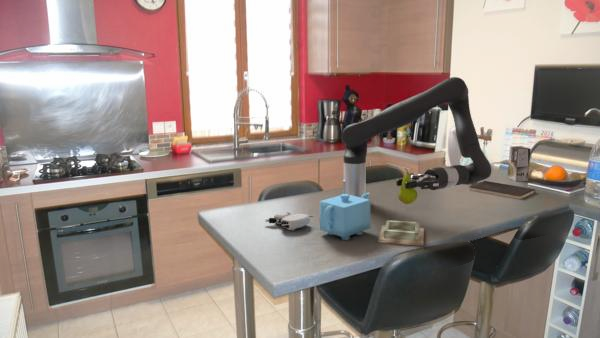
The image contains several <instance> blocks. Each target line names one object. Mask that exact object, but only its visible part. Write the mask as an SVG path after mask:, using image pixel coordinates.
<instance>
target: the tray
mask: <svg viewBox="0 0 600 338" xmlns="http://www.w3.org/2000/svg"><path fill="white" fill-rule="evenodd" d="M424 235H425V227H420V222H419V221H407V220H406V221H404V220H403V221H402V220H391V219H387V220H386V223H385V225H384V224H382V226H381V230H380V232H379V235H378V236H379V237H378V243H381V244H382V243H383V244H395V245H396V244H398V245H408V246H410V245H411V246H424V238H425V237H424Z"/></svg>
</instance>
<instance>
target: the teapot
mask: <svg viewBox="0 0 600 338" xmlns="http://www.w3.org/2000/svg"><path fill="white" fill-rule="evenodd" d="M370 194H371V192H369V191H368V192H365V193H364V194H363V195H362V197H356V196H352V195H348V194H343V193H341V194H340V195H337V196H333V197H330V198H326V199H323V200H319V230H321V231H323V232H326V234H327V235H328V234H329V235H328V236H334V235H335V236H337V237H340V238H341V240H342V241H349V240H351V238H350V236H353V235H357V236H362V235H364V231H366V230H369V229H371V199H368V198H367V197H368V196H369V195H370Z"/></svg>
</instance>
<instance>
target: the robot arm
mask: <svg viewBox="0 0 600 338" xmlns="http://www.w3.org/2000/svg"><path fill="white" fill-rule="evenodd" d="M444 104H447V106H448V107H449V110H450V112H451V114H452V118H453V121H454V125H455V126H454V128H455V129H456V136H457V141H458V145H459V148H460V152H461V155H462V156H461V157H463V158H465V159H468V158H469V159H470V160H471V161H472V163H469V164H466V165H462V164H460V165H454V166H449V165H446V166H443V165H442V166H438V167H429V168H427V169H426V171H425V172H424V173H418V174H415V173H413V172H412V173H409V175H410V178H411V181H409V182H405V188H406V189H410V188H414V189H420V190H428V189H429V190H431V191H439V190H442V189H447V188H451V187H455V186H461V185H471V184H472V185H474V184H477V183H480V182H483V181H485V180H486V179H488V178H490V177H491V175H492V166H491V164H490V161H489V160H488V158H487V156H486V155H485V153H484V151H483V149H482V148H481V144H480V141H479V137H478V134H477V130H476V127H475V125H474V122H473V119H472V113H471V108H470V100H469V87H468V86H467V84H466V81H464V80H463V79H462V78H460V77H457V76H453V77H448V78H446V79H444V80H442V81H441V82H438V83H437V84H436V85H433V87H430V88H428V89H427V90H425V91H423V92H420V93H418V94H415V95H413V96H411V97H409V98H407V99H404V100H401V101H399V102H397V103H395V104H392V105H391V106H389V107H387V108H385V109H384V110H382V111H380V112H378V113H377V114H375V115H374V116H371V117H370V118H368V119H365V120H363V121H360V122H353V123H351V124H348V125H347V126H346V127H344V128H343V130H342V133H341V137H340V138H341V141H342V143H343V144H344V145H345V151H344V155H343V180H342V194H348V195H352V196H356V197H362V195H363V194H364V193H366V185H367V184H366V180H367V179H366V177H367V176H366V174H367V173H366V172H367V170H366V166H367V165H366V164H367V162H366V161H367V160H366V159H367V154H368V141H369V140H370V139H372V138H375V137H376V136H378V135H382V134H385V133H388V132H391V131H394V130H397V129H399V128H402V127H405V126H407V125H409V124H411V123H413V122H416V121H417V120H418V119H420V118H421V117H423V116H424V115H425V114H426V113H428V111H430V110H432V109H434V108H436V107H438V106H441V105H444ZM404 176H405V175H402V178H398V179H396V181H395V183H396V184H395V185H396V186H397V187H401V185H402V181H403V178H404Z"/></svg>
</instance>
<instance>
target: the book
mask: <svg viewBox="0 0 600 338" xmlns="http://www.w3.org/2000/svg"><path fill="white" fill-rule="evenodd" d="M468 188H469V191H471V192H477V193H483V194H488V195H494V196H498V195H499V196H500V197H504V198H511V199H516V200H521V199H524V198H526V197H528V196H530V195H532V194H534V193H536V189H535V188H530V187H524V186H519V185H512V184H508V183H507V184H506V183H500V182H494V181H488V180H482V181H479V182H476V183H473V184H472V185H468Z"/></svg>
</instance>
